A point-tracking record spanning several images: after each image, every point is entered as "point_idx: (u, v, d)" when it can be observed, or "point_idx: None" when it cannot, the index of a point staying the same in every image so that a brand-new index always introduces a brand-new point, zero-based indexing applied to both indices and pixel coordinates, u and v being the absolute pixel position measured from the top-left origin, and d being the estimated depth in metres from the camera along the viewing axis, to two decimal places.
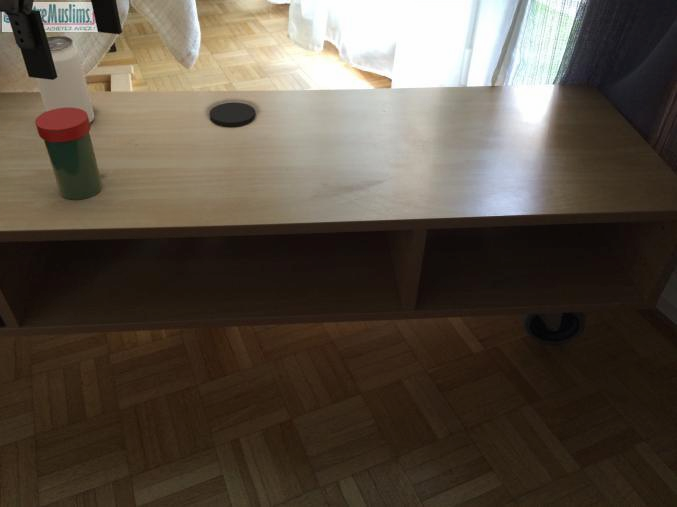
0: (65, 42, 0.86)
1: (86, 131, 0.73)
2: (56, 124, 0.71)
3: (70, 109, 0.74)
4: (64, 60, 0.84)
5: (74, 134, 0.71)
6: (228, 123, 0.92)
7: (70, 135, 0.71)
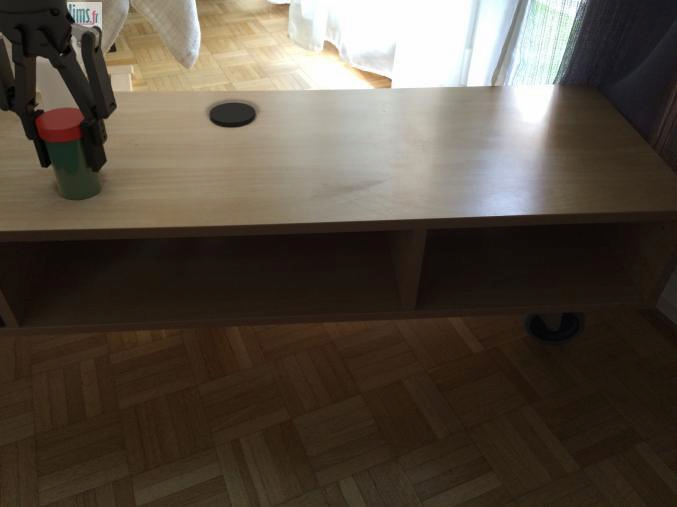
0: None
1: None
2: (56, 124, 0.71)
3: (70, 109, 0.74)
4: None
5: (74, 134, 0.71)
6: (228, 123, 0.92)
7: (70, 135, 0.71)
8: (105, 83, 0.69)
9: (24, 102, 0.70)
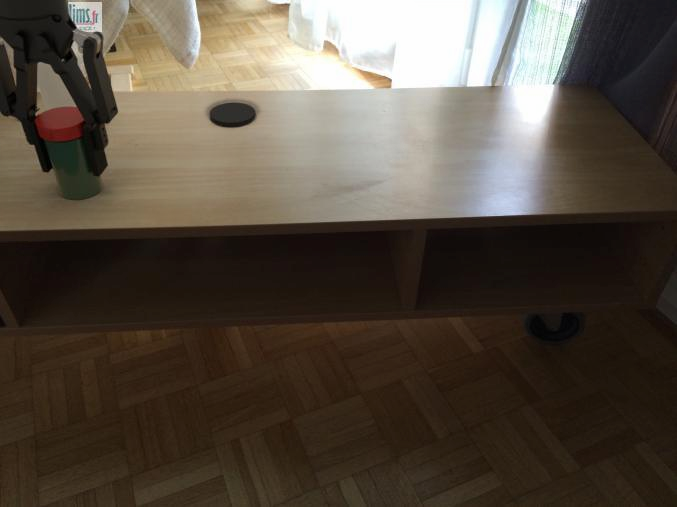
0: None
1: None
2: (75, 117, 0.72)
3: (42, 115, 0.72)
4: None
5: None
6: (228, 123, 0.92)
7: None
8: (106, 88, 0.69)
9: (25, 107, 0.70)
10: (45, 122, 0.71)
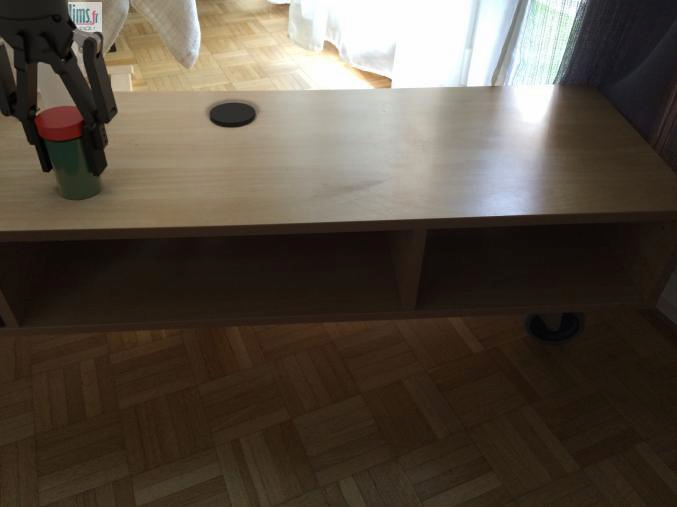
0: None
1: None
2: (66, 110, 0.73)
3: (51, 125, 0.70)
4: None
5: None
6: (228, 123, 0.92)
7: None
8: (106, 88, 0.69)
9: (26, 107, 0.70)
10: (68, 122, 0.71)
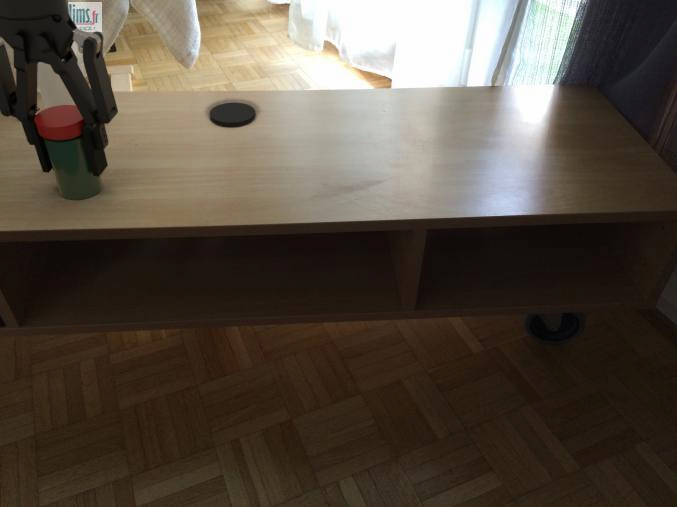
0: None
1: (48, 136, 0.71)
2: (47, 114, 0.72)
3: (79, 117, 0.72)
4: None
5: (38, 130, 0.71)
6: (228, 123, 0.92)
7: (37, 128, 0.71)
8: (106, 88, 0.69)
9: (26, 107, 0.70)
10: (76, 110, 0.73)
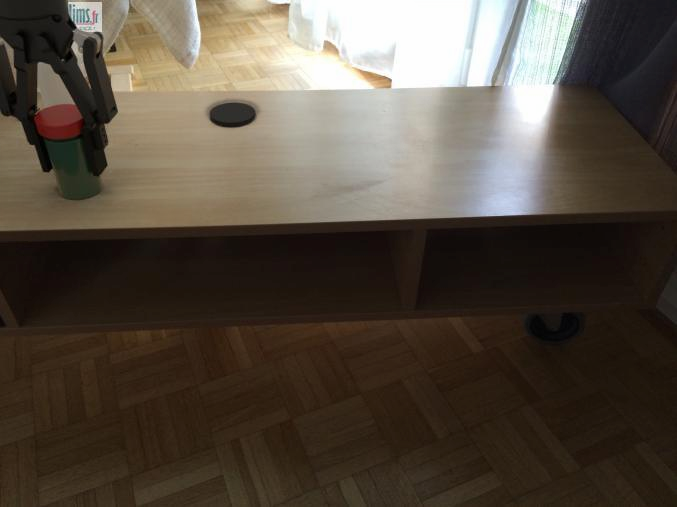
0: None
1: None
2: (54, 120, 0.71)
3: (70, 106, 0.74)
4: None
5: (71, 131, 0.71)
6: (228, 123, 0.92)
7: (67, 132, 0.71)
8: (106, 88, 0.69)
9: (26, 107, 0.70)
10: (53, 109, 0.73)
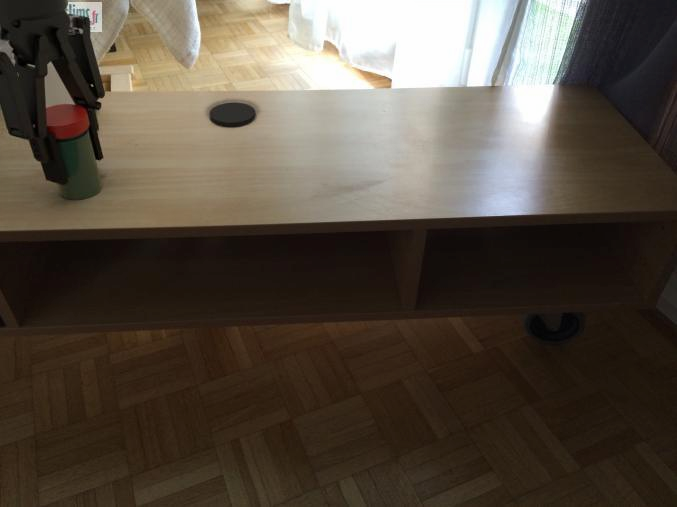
0: None
1: None
2: (71, 117, 0.71)
3: (46, 110, 0.73)
4: None
5: (88, 118, 0.73)
6: (228, 123, 0.92)
7: (88, 120, 0.73)
8: None
9: (45, 118, 0.68)
10: None
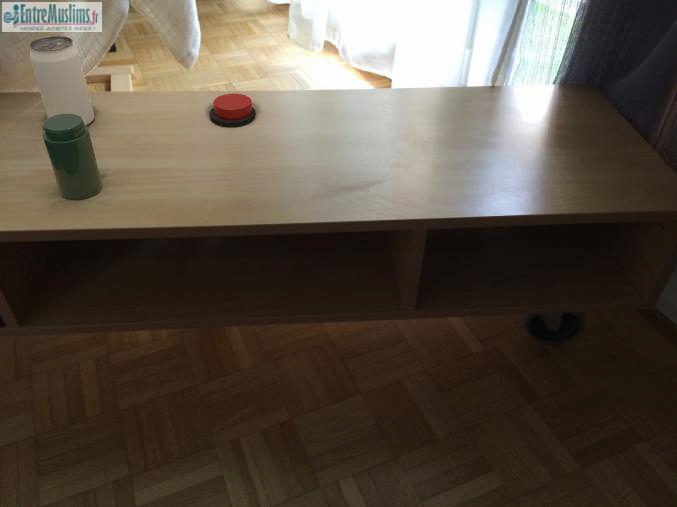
0: (65, 42, 0.86)
1: None
2: (243, 102, 0.94)
3: (217, 99, 0.94)
4: (64, 60, 0.84)
5: None
6: (228, 123, 0.92)
7: None
8: None
9: None
10: (221, 104, 0.93)
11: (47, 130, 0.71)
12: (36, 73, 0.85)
